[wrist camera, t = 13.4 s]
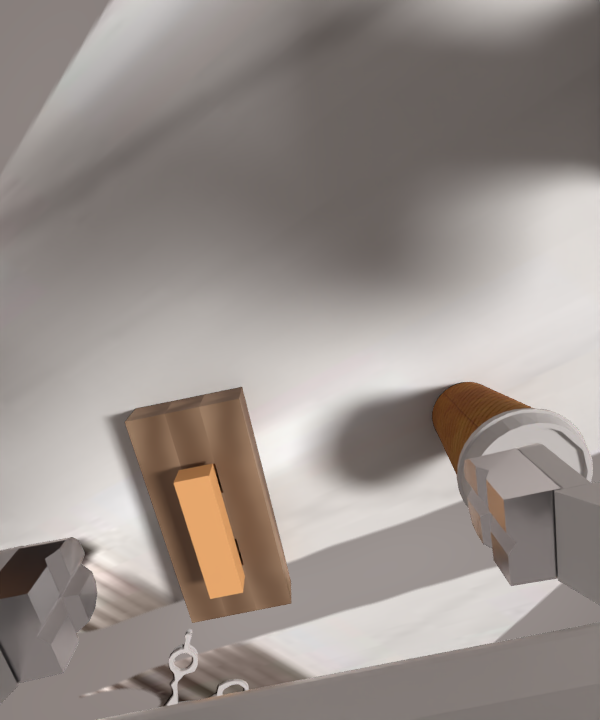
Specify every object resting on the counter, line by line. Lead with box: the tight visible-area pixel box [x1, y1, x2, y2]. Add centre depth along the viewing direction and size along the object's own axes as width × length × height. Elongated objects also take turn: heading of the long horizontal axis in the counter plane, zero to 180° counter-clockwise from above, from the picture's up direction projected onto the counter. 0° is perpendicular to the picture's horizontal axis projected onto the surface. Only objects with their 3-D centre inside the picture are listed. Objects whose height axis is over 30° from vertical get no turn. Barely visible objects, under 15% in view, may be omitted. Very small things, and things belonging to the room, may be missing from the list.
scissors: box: [165, 629, 249, 706], centre depth 52 cm, size 11×1×20 cm
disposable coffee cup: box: [432, 382, 593, 507], centre depth 37 cm, size 10×10×12 cm
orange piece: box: [174, 464, 245, 599], centre depth 41 cm, size 3×12×6 cm, turn 11°
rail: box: [125, 387, 291, 623], centre depth 43 cm, size 10×22×3 cm, turn 11°
